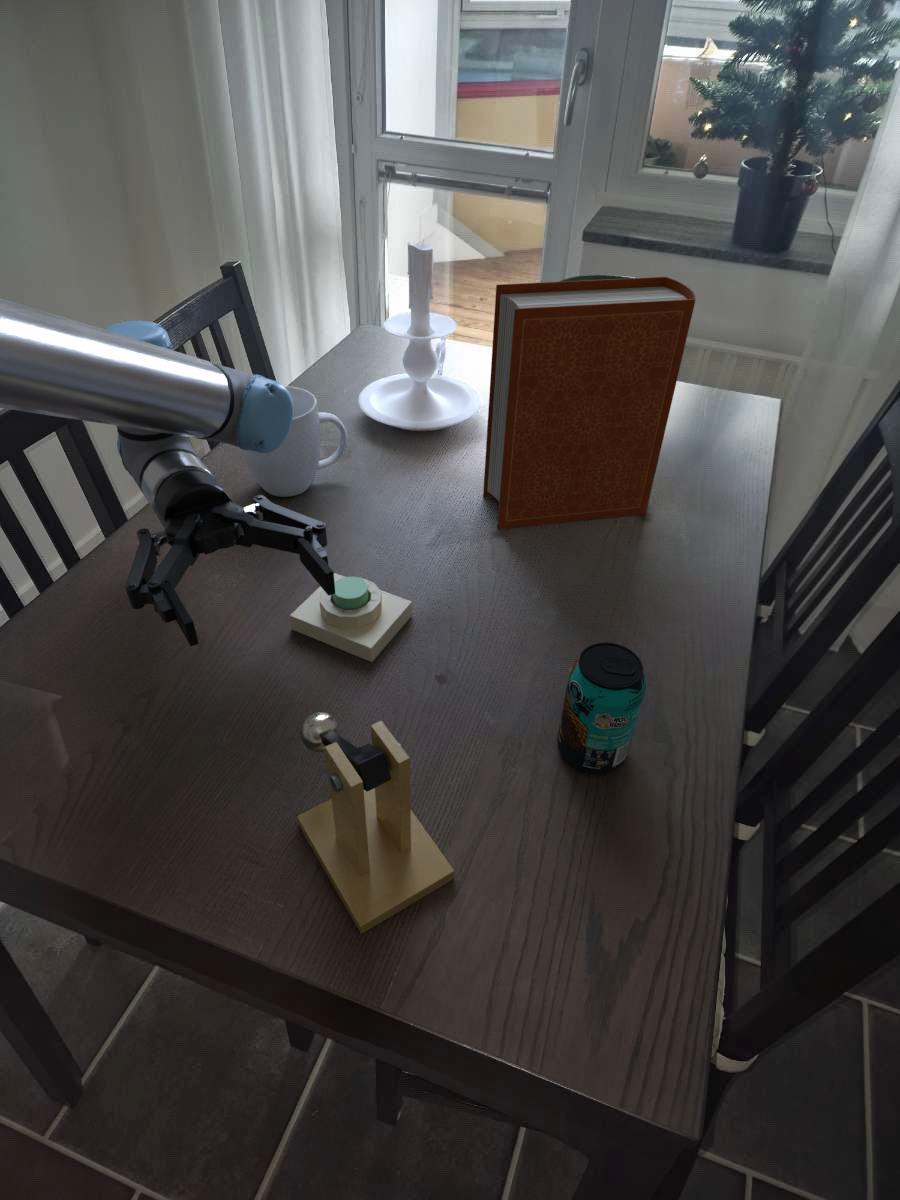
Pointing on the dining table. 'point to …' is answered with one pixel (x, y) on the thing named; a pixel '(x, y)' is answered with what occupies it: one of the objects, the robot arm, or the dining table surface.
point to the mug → (296, 450)
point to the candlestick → (420, 363)
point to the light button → (350, 593)
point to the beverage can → (601, 707)
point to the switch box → (353, 621)
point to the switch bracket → (373, 837)
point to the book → (581, 396)
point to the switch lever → (345, 749)
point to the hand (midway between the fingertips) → (264, 608)
